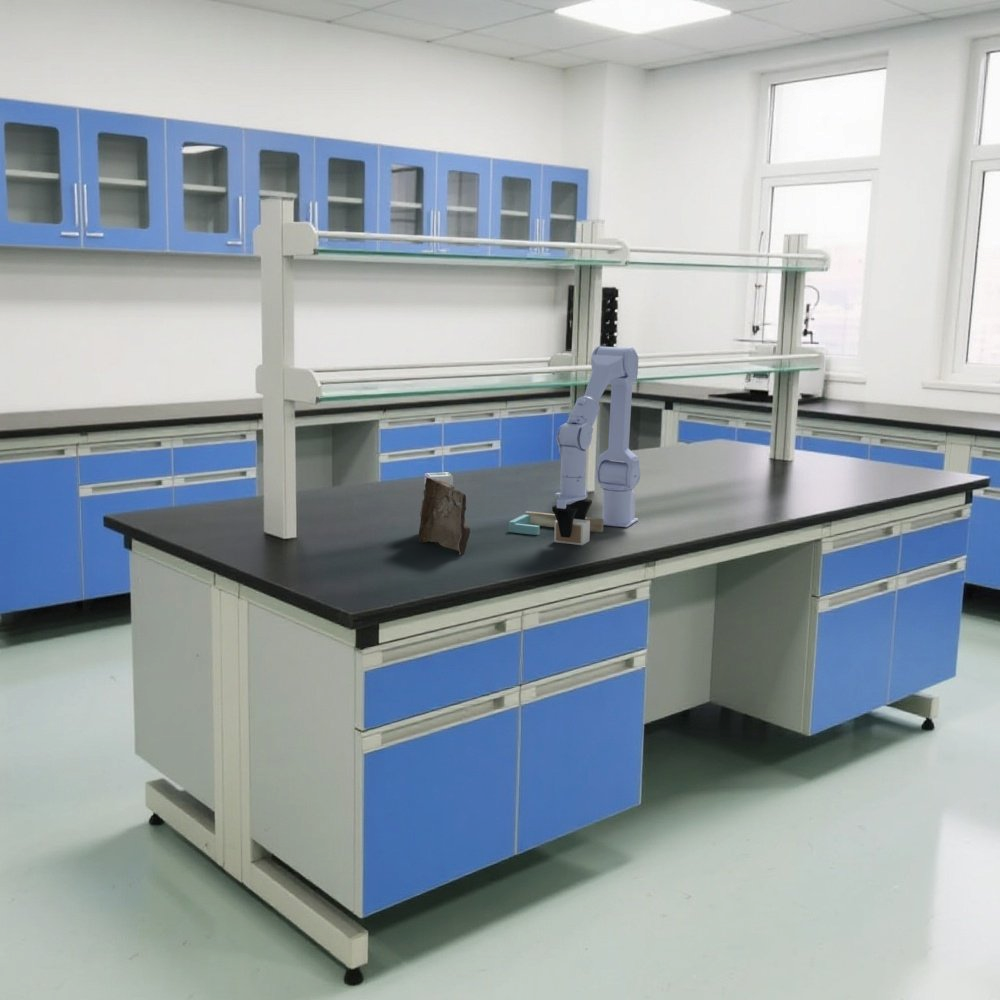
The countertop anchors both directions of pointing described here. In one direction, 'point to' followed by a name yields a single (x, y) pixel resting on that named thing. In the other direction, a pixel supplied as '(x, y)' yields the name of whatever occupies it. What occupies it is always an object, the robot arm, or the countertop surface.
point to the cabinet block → (574, 533)
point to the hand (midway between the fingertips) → (571, 533)
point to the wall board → (550, 519)
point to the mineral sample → (444, 516)
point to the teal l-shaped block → (523, 526)
